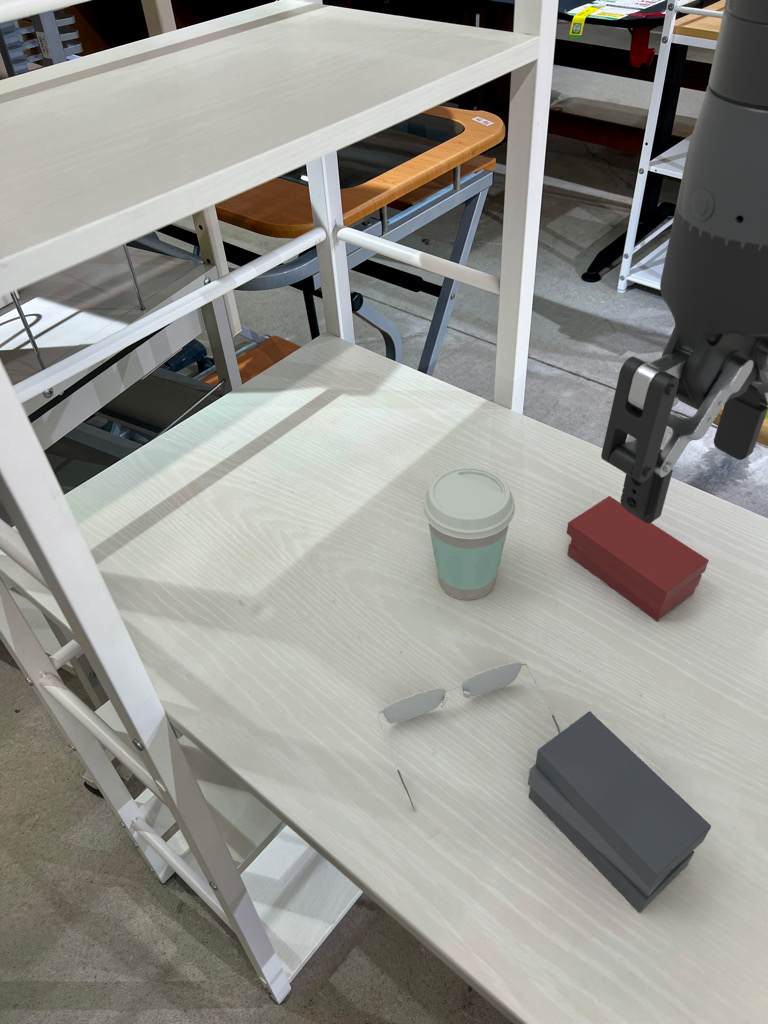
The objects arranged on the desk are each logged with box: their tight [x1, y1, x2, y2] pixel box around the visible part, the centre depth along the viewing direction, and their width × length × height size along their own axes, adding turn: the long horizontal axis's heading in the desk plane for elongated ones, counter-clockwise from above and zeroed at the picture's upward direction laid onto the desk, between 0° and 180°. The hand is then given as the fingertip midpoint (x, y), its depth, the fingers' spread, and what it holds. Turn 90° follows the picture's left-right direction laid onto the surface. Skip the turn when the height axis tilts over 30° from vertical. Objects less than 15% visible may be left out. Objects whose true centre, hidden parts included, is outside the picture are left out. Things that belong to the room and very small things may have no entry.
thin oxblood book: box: [566, 495, 710, 603], centre depth 73 cm, size 12×6×2 cm, turn 37°
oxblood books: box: [567, 537, 703, 622], centre depth 75 cm, size 12×6×3 cm, turn 37°
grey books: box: [527, 711, 712, 914], centre depth 55 cm, size 12×6×7 cm, turn 37°
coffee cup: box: [422, 465, 516, 601], centre depth 72 cm, size 8×8×12 cm
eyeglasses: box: [376, 661, 561, 812], centre depth 62 cm, size 14×8×4 cm, turn 109°
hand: (687, 481), depth 44 cm, fingers open, 8 cm apart
